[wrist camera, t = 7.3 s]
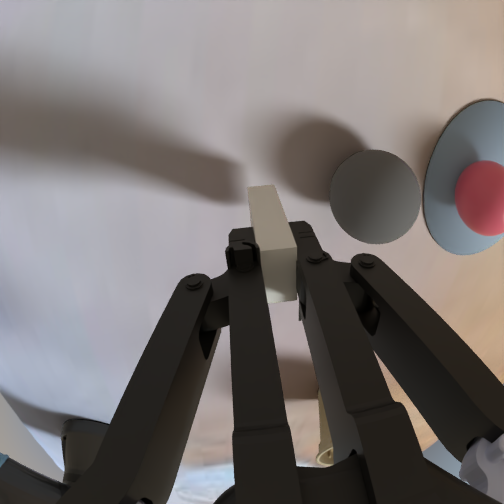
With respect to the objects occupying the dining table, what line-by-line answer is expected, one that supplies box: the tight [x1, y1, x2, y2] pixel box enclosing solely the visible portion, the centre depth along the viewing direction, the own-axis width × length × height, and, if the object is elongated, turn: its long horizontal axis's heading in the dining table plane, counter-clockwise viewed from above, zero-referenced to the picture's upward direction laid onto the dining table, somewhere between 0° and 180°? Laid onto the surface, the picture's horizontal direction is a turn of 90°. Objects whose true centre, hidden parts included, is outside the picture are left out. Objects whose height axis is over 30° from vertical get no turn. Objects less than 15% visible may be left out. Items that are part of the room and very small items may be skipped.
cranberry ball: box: [455, 160, 504, 236], centre depth 18 cm, size 6×6×6 cm
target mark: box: [424, 100, 504, 255], centre depth 20 cm, size 14×14×1 cm
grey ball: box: [329, 150, 421, 244], centre depth 17 cm, size 6×6×6 cm
